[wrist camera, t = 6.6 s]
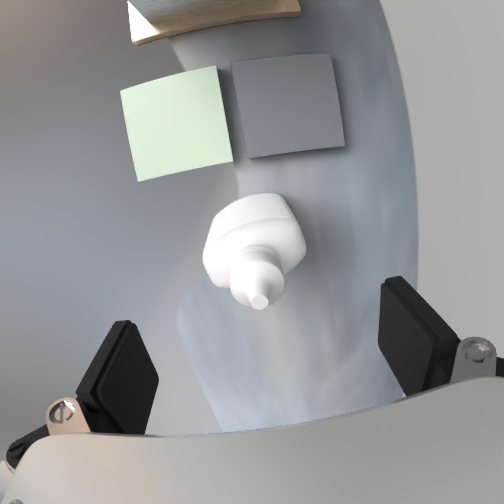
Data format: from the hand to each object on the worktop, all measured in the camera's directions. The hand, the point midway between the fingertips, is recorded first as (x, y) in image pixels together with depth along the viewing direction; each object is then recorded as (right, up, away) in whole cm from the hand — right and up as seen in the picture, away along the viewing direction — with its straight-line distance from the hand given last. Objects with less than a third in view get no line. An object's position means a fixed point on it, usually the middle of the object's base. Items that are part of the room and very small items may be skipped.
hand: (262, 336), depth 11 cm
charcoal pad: (+2, +13, +9) cm, 16 cm away
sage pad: (-6, +12, +9) cm, 16 cm away
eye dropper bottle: (0, +6, +12) cm, 14 cm away
